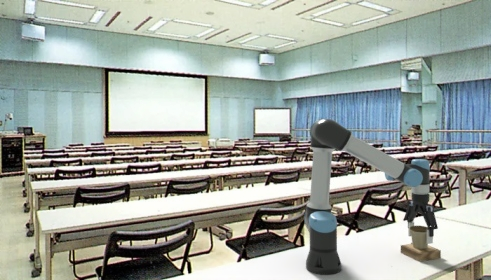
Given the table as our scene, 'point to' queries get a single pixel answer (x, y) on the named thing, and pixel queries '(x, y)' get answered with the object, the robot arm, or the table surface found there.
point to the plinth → (421, 252)
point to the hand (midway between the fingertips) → (420, 239)
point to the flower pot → (419, 236)
